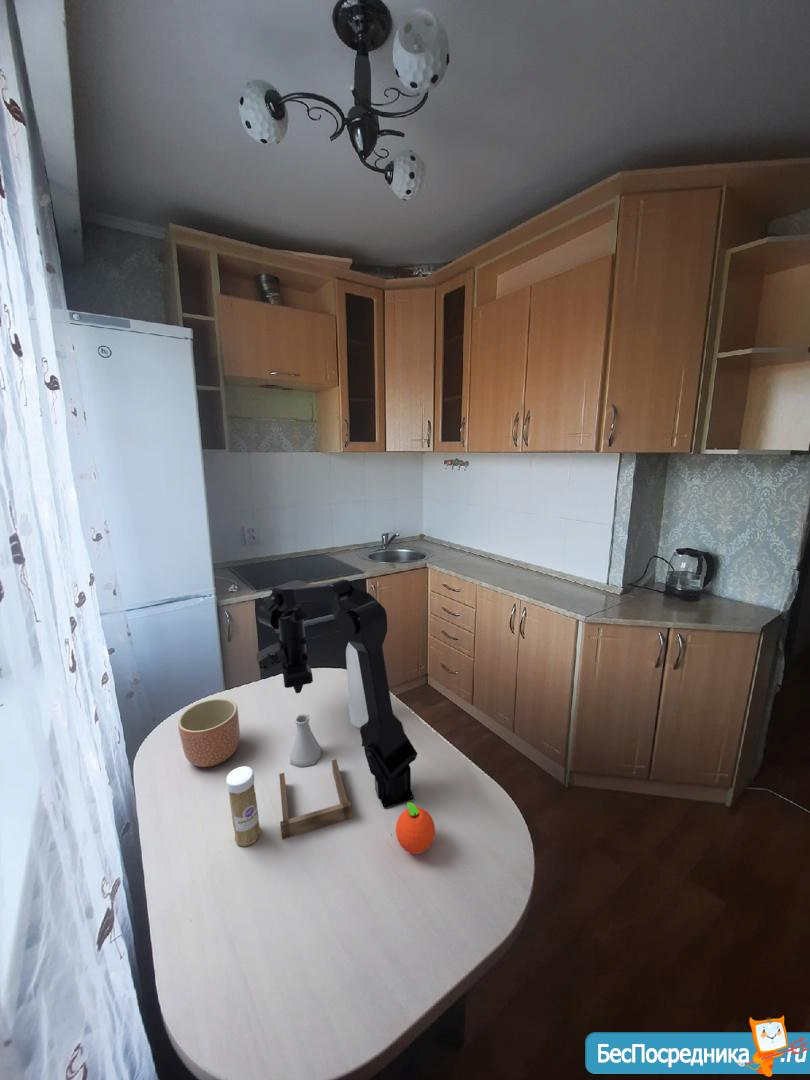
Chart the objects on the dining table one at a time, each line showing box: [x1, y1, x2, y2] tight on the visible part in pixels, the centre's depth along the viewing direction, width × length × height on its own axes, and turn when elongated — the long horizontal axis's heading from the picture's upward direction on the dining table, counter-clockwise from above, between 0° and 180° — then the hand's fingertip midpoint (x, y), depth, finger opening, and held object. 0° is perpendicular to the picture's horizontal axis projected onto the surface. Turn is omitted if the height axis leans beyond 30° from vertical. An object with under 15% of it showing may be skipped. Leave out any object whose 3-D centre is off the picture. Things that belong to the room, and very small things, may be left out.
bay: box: [278, 758, 353, 840], centre depth 86 cm, size 13×13×3 cm
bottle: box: [345, 642, 368, 729], centre depth 108 cm, size 8×8×30 cm
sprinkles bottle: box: [225, 765, 262, 847], centre depth 78 cm, size 5×5×14 cm
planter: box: [177, 697, 241, 768], centre depth 99 cm, size 12×12×11 cm
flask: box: [289, 713, 322, 768], centre depth 98 cm, size 7×7×10 cm
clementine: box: [395, 801, 436, 855], centre depth 77 cm, size 8×7×7 cm
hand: (298, 692), depth 106 cm, fingers closed
